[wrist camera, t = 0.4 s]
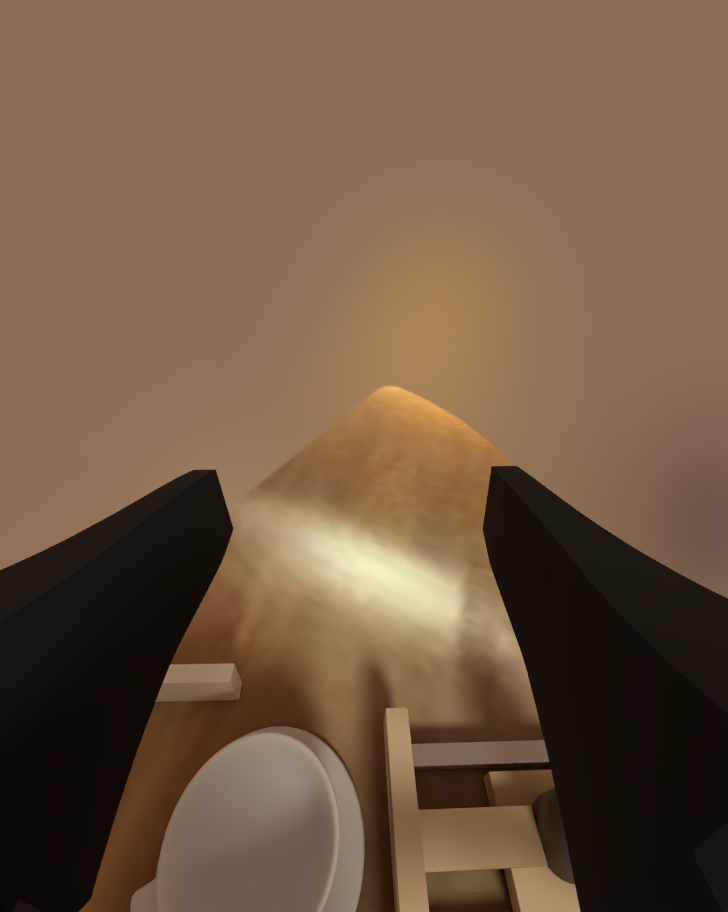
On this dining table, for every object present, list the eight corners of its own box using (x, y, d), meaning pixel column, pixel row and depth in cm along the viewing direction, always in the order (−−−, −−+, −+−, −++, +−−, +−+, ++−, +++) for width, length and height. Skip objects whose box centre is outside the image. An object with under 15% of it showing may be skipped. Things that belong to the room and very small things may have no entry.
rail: (677, 960, 16) (691, 963, 16) (433, 976, 16) (436, 979, 15) (589, 743, 22) (596, 738, 22) (409, 748, 22) (411, 743, 21)
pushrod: (676, 1007, 15) (809, 1049, 11) (399, 1027, 15) (424, 1079, 10) (566, 721, 23) (618, 678, 19) (381, 726, 22) (392, 683, 18)
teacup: (326, 699, 24) (325, 670, 21) (398, 931, 17) (412, 937, 14) (154, 780, 20) (123, 759, 17) (155, 1111, 13) (103, 1170, 10)
